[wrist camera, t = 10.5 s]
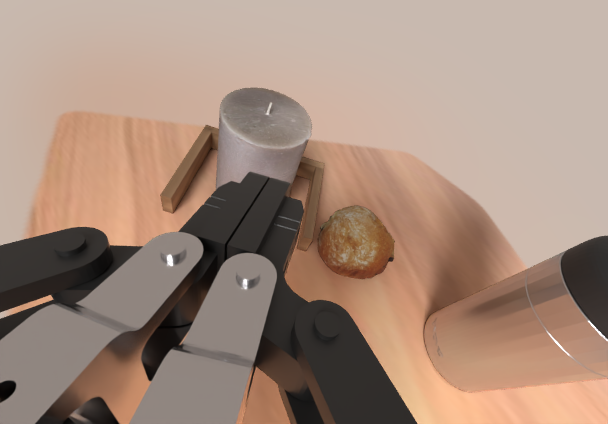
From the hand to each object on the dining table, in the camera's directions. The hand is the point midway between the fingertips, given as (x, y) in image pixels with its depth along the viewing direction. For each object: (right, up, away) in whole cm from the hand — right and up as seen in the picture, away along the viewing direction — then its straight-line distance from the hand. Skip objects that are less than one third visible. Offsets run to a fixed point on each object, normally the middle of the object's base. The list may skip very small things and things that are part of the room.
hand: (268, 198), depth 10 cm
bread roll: (+8, -6, +29) cm, 31 cm away
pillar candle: (-6, +1, +29) cm, 30 cm away
